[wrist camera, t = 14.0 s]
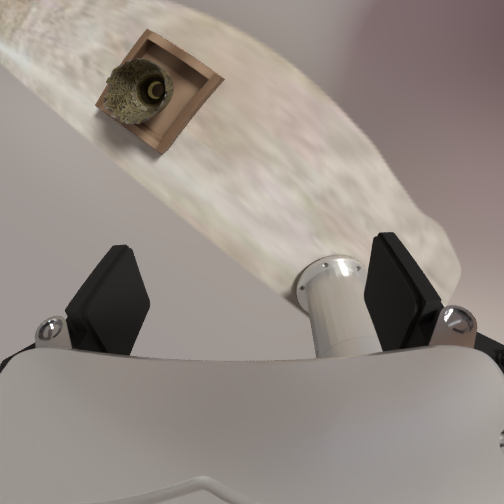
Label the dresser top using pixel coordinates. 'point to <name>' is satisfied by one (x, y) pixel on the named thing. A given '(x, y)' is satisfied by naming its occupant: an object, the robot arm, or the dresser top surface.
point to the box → (184, 95)
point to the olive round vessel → (137, 91)
